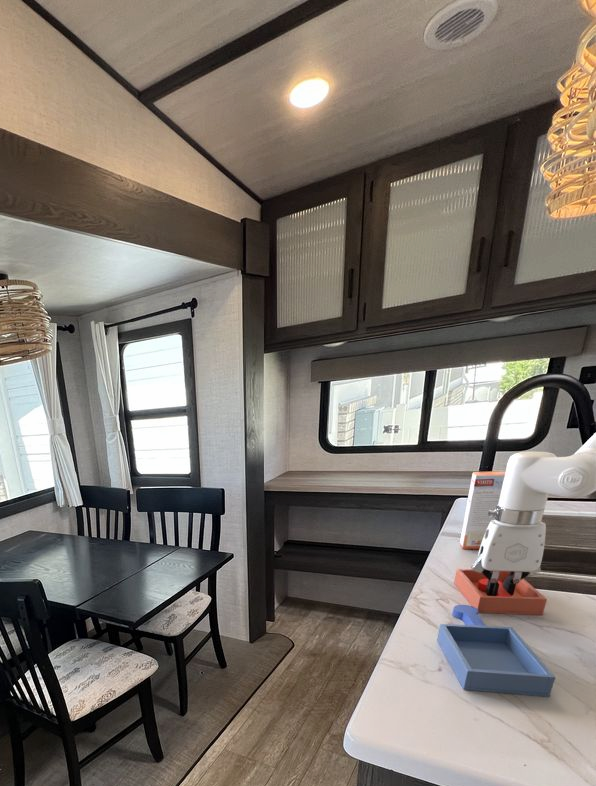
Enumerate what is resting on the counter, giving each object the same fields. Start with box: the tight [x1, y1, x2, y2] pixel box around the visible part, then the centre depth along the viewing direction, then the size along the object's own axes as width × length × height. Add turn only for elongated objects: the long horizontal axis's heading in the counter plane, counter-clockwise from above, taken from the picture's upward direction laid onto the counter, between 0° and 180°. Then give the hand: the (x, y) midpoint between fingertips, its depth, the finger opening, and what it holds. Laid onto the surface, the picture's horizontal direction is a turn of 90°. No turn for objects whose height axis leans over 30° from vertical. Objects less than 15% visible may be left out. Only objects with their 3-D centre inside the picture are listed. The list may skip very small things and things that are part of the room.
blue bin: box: [436, 623, 556, 698], centre depth 80 cm, size 12×17×4 cm
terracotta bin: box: [453, 568, 548, 616], centre depth 103 cm, size 12×17×4 cm
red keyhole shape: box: [477, 579, 512, 597], centre depth 103 cm, size 11×4×2 cm, turn 163°
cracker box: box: [459, 470, 506, 550], centre depth 128 cm, size 14×6×21 cm, turn 65°
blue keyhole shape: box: [451, 604, 487, 626], centre depth 95 cm, size 11×4×2 cm, turn 163°
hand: (498, 597), depth 102 cm, fingers closed on red keyhole shape, 2 cm apart
